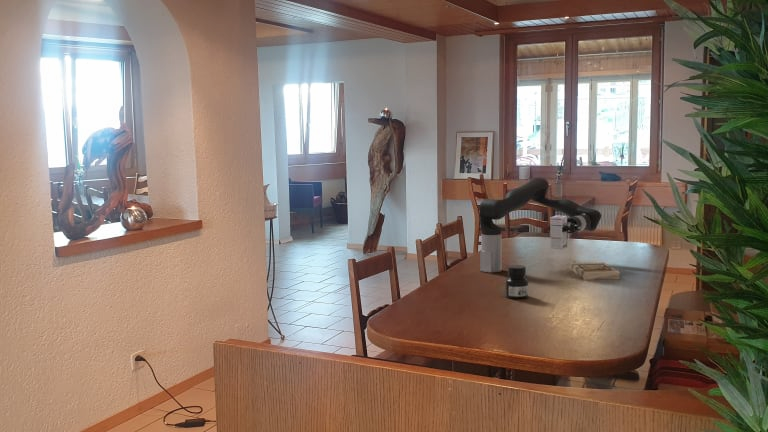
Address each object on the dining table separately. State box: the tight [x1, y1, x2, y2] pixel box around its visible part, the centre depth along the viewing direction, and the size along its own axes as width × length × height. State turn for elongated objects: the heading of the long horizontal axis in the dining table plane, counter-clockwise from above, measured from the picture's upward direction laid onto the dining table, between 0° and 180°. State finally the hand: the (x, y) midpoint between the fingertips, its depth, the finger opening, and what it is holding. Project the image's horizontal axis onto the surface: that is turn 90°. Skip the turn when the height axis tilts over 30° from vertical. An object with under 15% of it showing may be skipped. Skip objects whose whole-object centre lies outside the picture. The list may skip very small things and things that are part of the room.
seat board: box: [570, 261, 620, 281], centre depth 314 cm, size 22×15×3 cm
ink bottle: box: [504, 264, 529, 300], centre depth 275 cm, size 10×9×12 cm
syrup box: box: [549, 214, 568, 250], centre depth 314 cm, size 6×6×14 cm
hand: (556, 229), depth 312 cm, fingers closed on syrup box, 6 cm apart
